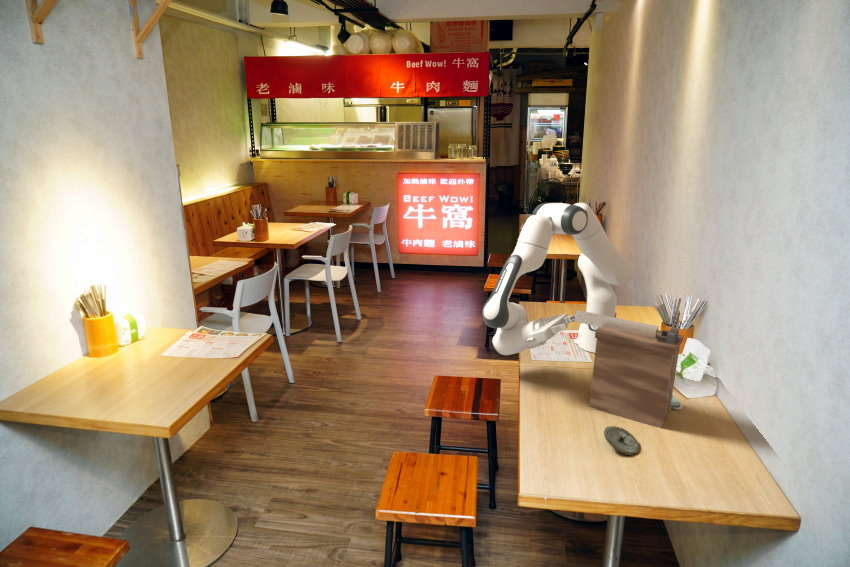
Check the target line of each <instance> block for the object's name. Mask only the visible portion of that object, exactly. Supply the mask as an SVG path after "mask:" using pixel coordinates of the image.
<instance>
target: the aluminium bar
mask: <svg viewBox="0 0 850 567" xmlns="http://www.w3.org/2000/svg"><path fill="white" fill-rule="evenodd" d="M574 315H575V319H574V322H575V323H580V324H582V323H584V324H589V325H593V326H598V327H603V328H608V329H612V330H617V331H622V332H626V333H631V334H636V335H641V336H645V337H650V338H656V337H657V335H658V330H659V327H660V326H658V325H653V324H648V323H644V322H640V321H635V320H634V321H633V320H628V319H626V318H625V319H624V318H619V317H616V318H615V317H610V316H605V315H600V314H595V313H590V312H586V310H579V309H578V310H577V311H574Z"/></svg>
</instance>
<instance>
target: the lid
mask: <svg viewBox="0 0 850 567" xmlns="http://www.w3.org/2000/svg"><path fill="white" fill-rule="evenodd" d="M603 436H604V438H605V440H606V442H607V443H608V444H609V445H610V446H611V447H612V448H613V449H614V450H616V451H617V452H618V453H620V454H623V455H626V456H634V455H636V454H638V453H639V452H640V448H641V447H640V444H639V442H638V440H637V438H635V436H634V435H633V434H632V433H631V432H629V431H628V430H626V429H625V428H622V427H619V426H615V425H614V426H613V425H611V426H607V427H605V428H604V431H603Z"/></svg>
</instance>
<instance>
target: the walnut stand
mask: <svg viewBox="0 0 850 567" xmlns="http://www.w3.org/2000/svg"><path fill="white" fill-rule="evenodd" d="M595 338H597V341H596V350H595V353H594V358H593V361H594V362H593V368H592V377H591V378H592V380H591V387H590V395H589V404H588V408H589V407H591V408H590V409H593V408H594V410H596V409H597V411H600V410H601V411H600V412H603V411H604V412H603V413H606V412H607V414H610V413H611V414H610V415H613V414H614V416H618V417H620V416H621V418H624V419H626V420H631V421H635V422H638V423H642V424H645V425H649V426H652V427H655V426H656V427H655V428H658V427H659V429H662V427H663V425H664V424H663V423H665V422H666V420H667V418H668V416H669V414H670V410H671V408H670V406H671V399H672V394H673V392H674V385H675V379H676V371H677V367H678V366H677V365H678V360H679V353H680V347H681V345H682V343H683V341H684V335H682V334H680V327H674V326H672V327H671V328H670V329H669V330H665V329H662V330H659V329H658V335H657V337H656V338H650V337H645V336H641V335H636V334H631V333H626V332H622V331H617V330H612V329H608V328H603V327H600V328H599V329H598V330H597V331H596V332H595ZM665 419H666V420H665Z"/></svg>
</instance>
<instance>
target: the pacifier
mask: <svg viewBox="0 0 850 567" xmlns="http://www.w3.org/2000/svg"><path fill="white" fill-rule="evenodd" d="M670 409H673V410H677V411H680V410H682V409H683V404H682V402H680V401H678V399H677V398H676V397H675V396H674V395H673V393H672V399H671V406H670Z"/></svg>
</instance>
